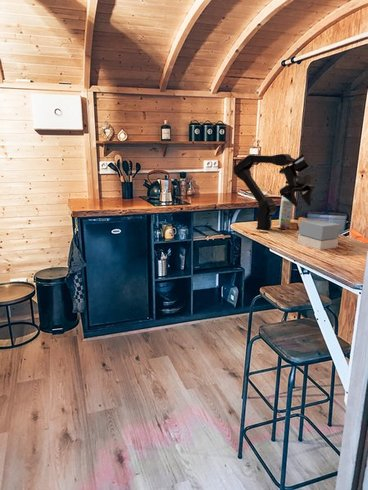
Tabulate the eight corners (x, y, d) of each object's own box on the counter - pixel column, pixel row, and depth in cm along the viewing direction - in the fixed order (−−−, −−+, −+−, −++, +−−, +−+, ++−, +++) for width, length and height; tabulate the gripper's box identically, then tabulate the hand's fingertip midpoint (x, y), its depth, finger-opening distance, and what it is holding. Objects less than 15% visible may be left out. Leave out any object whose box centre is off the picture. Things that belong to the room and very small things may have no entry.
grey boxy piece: (290, 231, 179) (291, 218, 178) (307, 229, 185) (308, 216, 183) (321, 240, 164) (322, 226, 163) (338, 237, 170) (340, 223, 168)
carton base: (297, 242, 176) (298, 234, 175) (314, 240, 181) (315, 232, 180) (319, 249, 165) (321, 240, 164) (337, 247, 171) (338, 238, 170)
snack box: (290, 229, 204) (293, 201, 200) (279, 228, 205) (282, 200, 201) (288, 221, 224) (291, 195, 220) (278, 221, 225) (280, 195, 221)
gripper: (290, 167, 176) (302, 198, 171) (317, 168, 186) (329, 197, 181) (274, 180, 184) (285, 209, 180) (300, 180, 194) (311, 208, 190)
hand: (303, 206), depth 183 cm, fingers open, 9 cm apart
